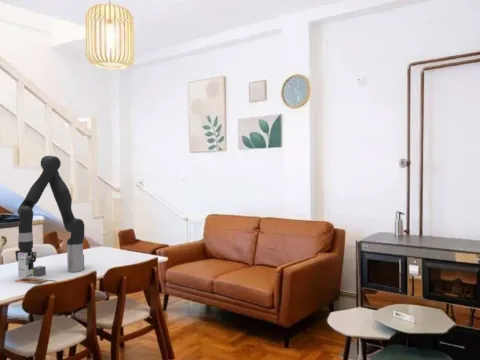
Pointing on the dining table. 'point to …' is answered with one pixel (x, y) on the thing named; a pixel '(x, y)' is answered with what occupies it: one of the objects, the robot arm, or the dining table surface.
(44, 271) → the die
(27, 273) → the syrup box
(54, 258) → the dining table surface
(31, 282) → the flat rectangular plate
